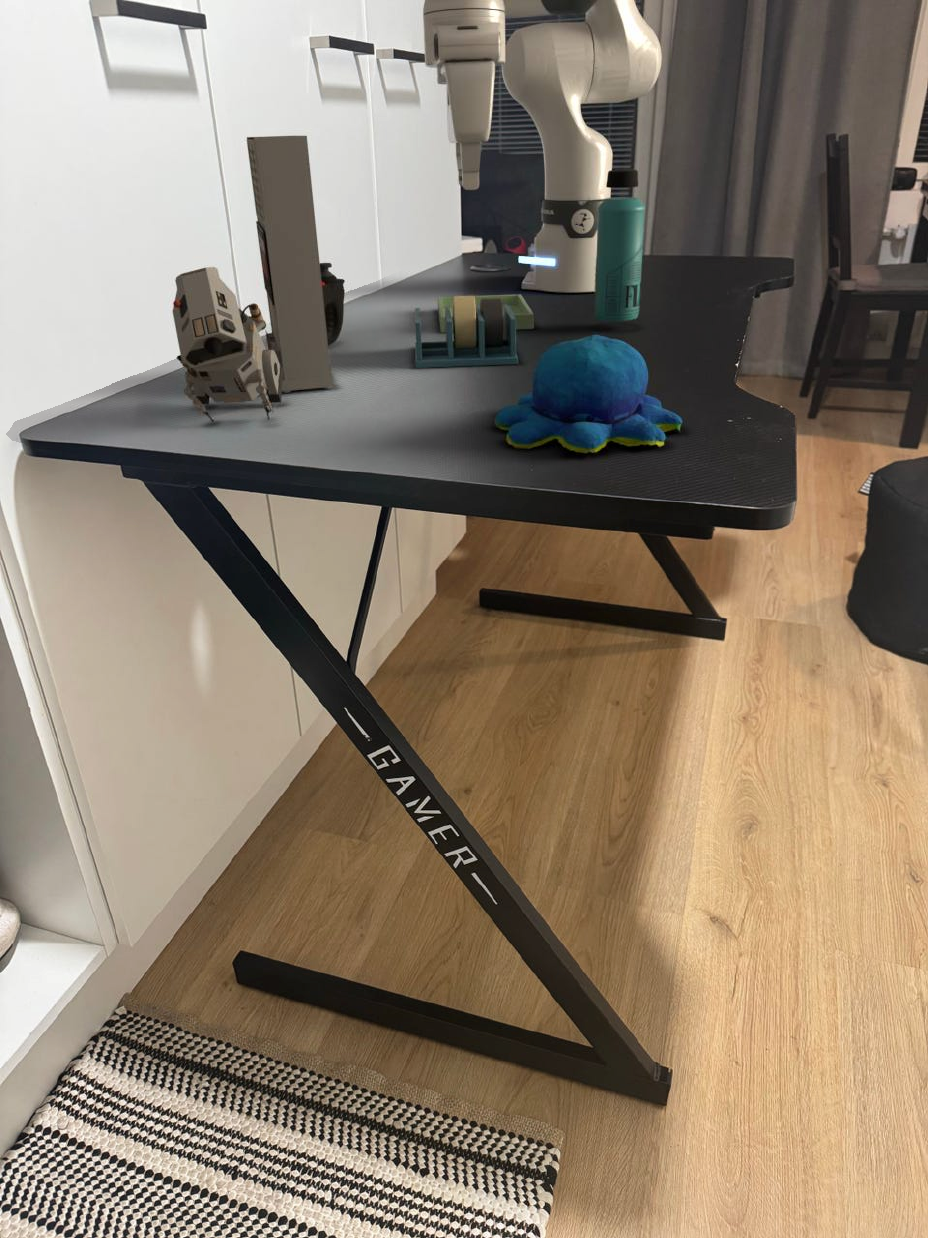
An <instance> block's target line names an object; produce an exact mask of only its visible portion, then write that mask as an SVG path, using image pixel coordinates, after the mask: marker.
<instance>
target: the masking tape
mask: <svg viewBox="0 0 928 1238" xmlns="http://www.w3.org/2000/svg"><path fill="white" fill-rule="evenodd" d="M474 296H475V295H457V296H456V295H455V296H452V297H453V341H454V348H455V349H456V348H476V308H475V298H474Z"/></svg>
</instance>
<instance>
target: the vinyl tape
mask: <svg viewBox="0 0 928 1238" xmlns="http://www.w3.org/2000/svg"><path fill="white" fill-rule="evenodd" d="M480 311H481V314H482V316H483V319H484V347H502V346H503V339H504V330H503V308H502V301H501V298H491V299H481V302H480Z"/></svg>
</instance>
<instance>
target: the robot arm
mask: <svg viewBox="0 0 928 1238" xmlns="http://www.w3.org/2000/svg"><path fill="white" fill-rule="evenodd" d="M543 15H544V16H545V15H554V16H583V15H585V20H584V21H581V22H580V21H579V22H578V21H577V22H573V21H572V22H571V21H570V22H542V23H537V24H533V25H528V26H525V27H522V28H518V29H516V30H514V32H513V33H512V34H511V35H510V37H509V38H508V40H507V42H506V19H507V18H511V19H512V18H514V19H515V18H522V17H524V18H525V17H534V16H543ZM422 22H423V43H424V46H423V47H424V66H425V67H426V68H434V69H436V75H437V76H436V82H437V84H438V85H446V87H445V88H446V89H445V90H446V121H447V122H446V123H447V124H446V125H447V139H448V142H449V143H451V144H455V159H456V160H455V161H456V167H457V183H458V185H459V186H460V187H463V189H464V190H466V191H476V190H478V189H479V187H480V165H481V157H482V156H481V154H482V152H481V150H482V149H481V148H482V147H481V143H486V142H488V141H489V140H490V139H489V138H490V135H491V127H492V120H493V119H492V118H493V104H494V91H495V77H496V66H501V75H502V80H503V84H504V85H505V88H506V89H507V91H508V93H509V94H510V97H512V98H513V99H514V100H515V101H516V102H517V103H518V104H520V106H521V107H522V108H524V109H525V111H526V112H527V113H528V115H529V116H530V118H531V119H532V121H533V123H534V125H535V127H536V129H537V131H538V134H539V138H540V141H541V145H542V151H543V163H544V164H543V165H544V199H543V200H542V203H541V208H540V209H541V212H540V213H541V222H542V226H541V229H540V230H539V232H538V233H537V234H536V236H535V237H534V238H533V243H530V246H529V247H527V256H522V255H521V256H520V255H519V256H518V263H519V264H520V263H521V264H527V265H528V264H529V269H530V271H528V272H527V273H526V275H525V276H524V278H523V280H522V282H521V287H520V289H522V290H531V291H534V290H535V291H541V292H553V293H592V292H593V293H595V289H594V288H595V278H594V277H595V276H594V275H595V274H594V271H595V272H596V270H595V269H596V254H597V228H598V207H599V206H600V204H601V203H602V202H603V201H604V200H605V199H607V198H612V197H611V195H612V188H608V187H606V184H607V178H608V172H609V171H611V170H613V156H614V155H613V149H612V146H611V144H610V142H609V140H608V139H607V138H606V137H605V136H604V135H602V133H600V132H598V131H596V130H595V129H593V128H592V127H589V126H587V124H586V123H585V121H584V118H583V115H582V110H581V109H582V108H581V105H582V104H583V105H585V104H619V103H623V102H627V101H631V100H635V99H638V98H641V97H645V96H647V95H648V94H649V92H650V91H651V90H652V89H653V88H654V86H655V84H656V82H657V80H658V78H659V75H660V72H661V68H662V63H663V62H662V61H663V54H662V47H661V43H660V40H659V38H658V36H657V35H656V33H655V30H654V29H653V28H651V27H650V25H649V24H648V23H647V22H646V21H645V19H644V18H643V16H642V15H641V13H640V11H639V9H638V7H637V4H636V1H635V0H424V3H423V8H422Z"/></svg>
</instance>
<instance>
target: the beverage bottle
mask: <svg viewBox="0 0 928 1238" xmlns="http://www.w3.org/2000/svg"><path fill="white" fill-rule="evenodd" d="M606 187H608V188H611V189H624V188H625V189H628V188H638V187H639V171H638V170H637V169H631V168H618V169H612V170H611V171H609V172H608V178H607V184H606ZM645 211H646V206H645V204H644V203H643V202H642V201H641V200H640V199H639V198H638V197H634V196H633V197H632V196H631V197H628V196H625V197H624V196H621V197H620V196H619V197H618V196H617V197H610V198H607V199H605V200H604V201H603V202H602V203H601V204H600V206H599V207H598V228H597V254H596V269H595V270H596V272H595V271H594V274H595V275H594V276H595V277H594V278H595V288H594V289H595V291H594V299H593V303H592V305H593V310H592V312H593V315H594V318H595V319H596V320H599V321H606V322H607V321H608V322H611V321H612V322H623V321H625V322H626V321H632V320H636V319H637V318H638V316H639V314H640V311H641V310H640V306H641V302H642V293H641V288H642V287H643V286H642V283H643V282H642V276H643V275H642V268H643V266H642V265H643V253H644V251H645V249H644V248H645V247H644V243H645V242H644V237H645V235H644V225H645V224H644V223H645ZM643 250H644V251H643Z"/></svg>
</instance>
